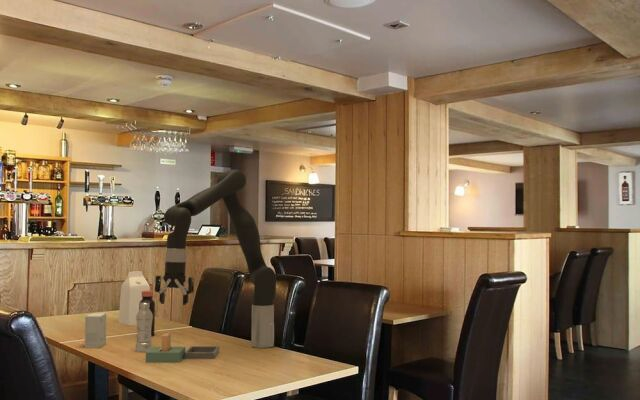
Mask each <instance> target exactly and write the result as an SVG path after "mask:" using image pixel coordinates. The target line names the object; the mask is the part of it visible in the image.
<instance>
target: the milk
mask: <svg viewBox="0 0 640 400" xmlns="http://www.w3.org/2000/svg"><path fill="white" fill-rule="evenodd" d="M150 289H151V287H150V284H149V283H148V281H147V279H146V278H145V276H144V274H143V271H142V270H138V271H135V270H134V271H129V272H128V275H127V277H126V279H125V280H124V281H123V282H122V284H121V287H120V296H119V297H120V299H119V309H118V310H119V311H118V322H119V323H118V324H121V323H122V324H121V325H124V324H125V326H128V325H130V326H137V321H136V315H137V313H138V311H139V302H140V301H141V300H142V291H151V290H150Z"/></svg>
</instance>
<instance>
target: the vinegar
mask: <svg viewBox="0 0 640 400" xmlns="http://www.w3.org/2000/svg"><path fill="white" fill-rule="evenodd" d="M153 297H154V291H153V290H150V291H142V300H141V301H140V302H139V310H140V303H141V302H149V306H150V307H149V309H150V311H151V312H152V315H153V318H152V326H151V337H153V336H155V323H156V321H155V318H156V317H155V314H156V310H155V309H156V308H155V307H156V302H155V301H154V299H153Z"/></svg>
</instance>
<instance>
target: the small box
mask: <svg viewBox="0 0 640 400" xmlns="http://www.w3.org/2000/svg"><path fill="white" fill-rule="evenodd" d="M106 344H107V312H106V313H105V312H104V313H103V312H102V313H101V312H96V313H95V312H94V313H93V312H92V313H89V314H87V315H85V316H84V348H85V349H101V348H102V347H103V346H105V345H106Z"/></svg>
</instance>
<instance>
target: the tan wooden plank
mask: <svg viewBox="0 0 640 400" xmlns="http://www.w3.org/2000/svg"><path fill="white" fill-rule="evenodd" d="M171 335H172V332H164V334H162V335H161V347H162V350H161V351H169V350H170V347H172V345H171V342H172V341H171V340H172V339H171Z"/></svg>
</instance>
